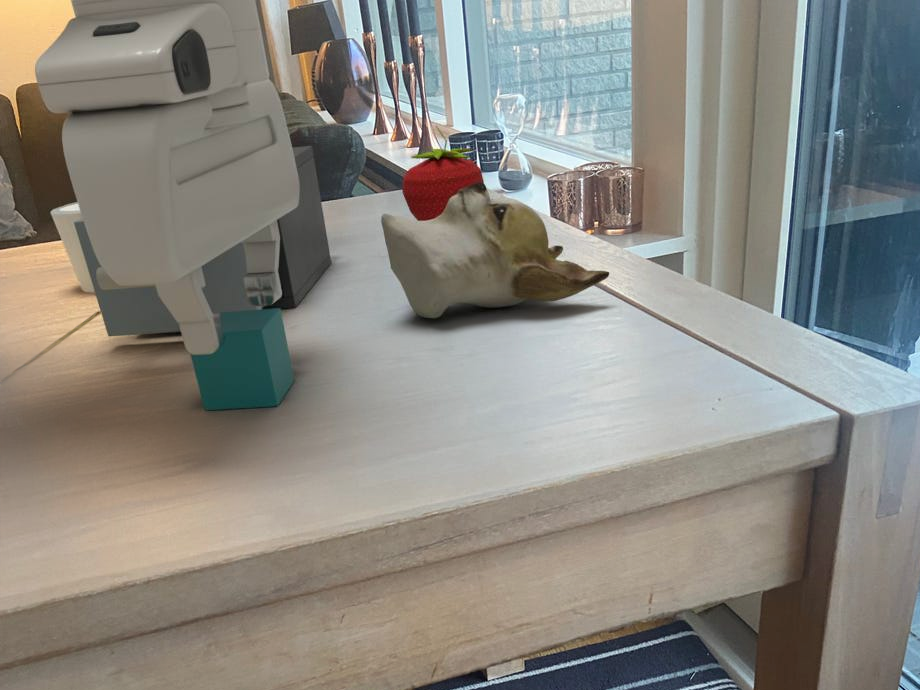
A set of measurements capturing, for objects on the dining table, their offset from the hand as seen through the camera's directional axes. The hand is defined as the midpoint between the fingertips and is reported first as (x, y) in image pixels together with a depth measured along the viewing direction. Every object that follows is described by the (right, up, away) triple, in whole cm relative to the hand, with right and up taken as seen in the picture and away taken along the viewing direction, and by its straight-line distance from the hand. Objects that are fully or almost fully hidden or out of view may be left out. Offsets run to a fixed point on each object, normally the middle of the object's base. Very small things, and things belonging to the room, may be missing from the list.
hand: (238, 325), depth 56 cm
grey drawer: (-7, +6, +16) cm, 18 cm away
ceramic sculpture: (+15, +6, +14) cm, 22 cm away
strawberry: (+11, +17, +31) cm, 37 cm away
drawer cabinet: (-6, +11, +25) cm, 28 cm away
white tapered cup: (-19, +13, +30) cm, 38 cm away
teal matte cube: (0, -4, +2) cm, 4 cm away
